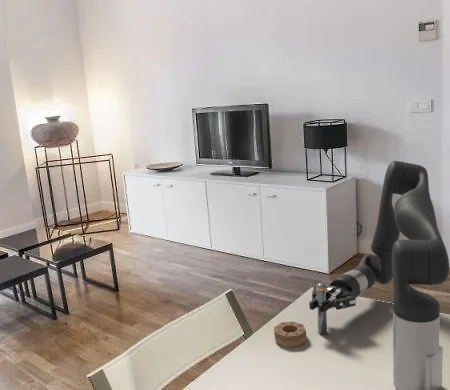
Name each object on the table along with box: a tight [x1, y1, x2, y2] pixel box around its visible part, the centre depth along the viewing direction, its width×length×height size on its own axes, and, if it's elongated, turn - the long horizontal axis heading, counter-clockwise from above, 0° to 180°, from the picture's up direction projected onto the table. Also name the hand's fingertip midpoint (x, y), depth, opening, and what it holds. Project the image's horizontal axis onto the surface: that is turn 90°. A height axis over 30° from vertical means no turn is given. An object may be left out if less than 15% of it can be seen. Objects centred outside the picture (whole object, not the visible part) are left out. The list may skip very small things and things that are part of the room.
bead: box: [273, 320, 307, 348], centre depth 131 cm, size 8×8×3 cm
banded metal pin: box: [315, 281, 328, 335], centre depth 132 cm, size 3×3×14 cm
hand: (315, 307), depth 130 cm, fingers closed on banded metal pin, 2 cm apart
